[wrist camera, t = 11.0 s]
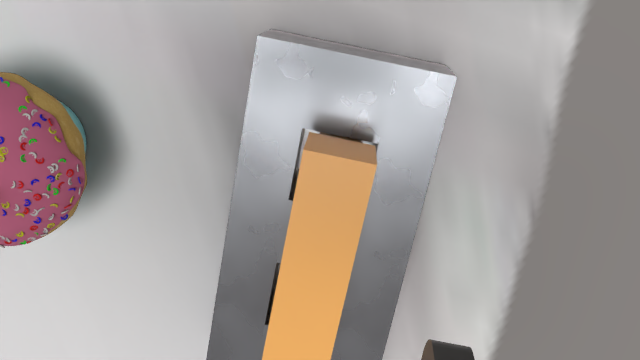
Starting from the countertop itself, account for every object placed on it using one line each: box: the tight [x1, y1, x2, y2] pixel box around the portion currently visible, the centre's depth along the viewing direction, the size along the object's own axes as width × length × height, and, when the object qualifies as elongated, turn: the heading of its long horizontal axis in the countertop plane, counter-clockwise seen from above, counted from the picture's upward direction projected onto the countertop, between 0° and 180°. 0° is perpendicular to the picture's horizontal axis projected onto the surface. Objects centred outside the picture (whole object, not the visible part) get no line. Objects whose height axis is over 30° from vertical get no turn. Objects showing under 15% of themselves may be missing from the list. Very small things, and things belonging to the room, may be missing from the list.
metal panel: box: [206, 29, 457, 360], centre depth 32 cm, size 18×9×4 cm, turn 169°
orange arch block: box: [262, 132, 377, 360], centre depth 29 cm, size 11×3×7 cm, turn 169°
